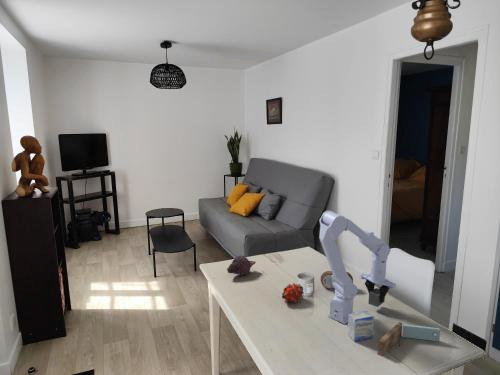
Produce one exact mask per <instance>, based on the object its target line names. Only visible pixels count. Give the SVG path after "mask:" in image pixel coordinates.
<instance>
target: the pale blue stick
mask: <svg viewBox="0 0 500 375" xmlns="http://www.w3.org/2000/svg"><path fill="white" fill-rule="evenodd" d="M440 337H441V328H439V327H432V326H431V327H429V326H422V325H413V324H404V323H402V338H407V339H416V340H417V339H418V340H425V341H433V342H440V339H441V338H440Z"/></svg>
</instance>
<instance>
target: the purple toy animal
mask: <svg viewBox="0 0 500 375" xmlns="http://www.w3.org/2000/svg"><path fill="white" fill-rule="evenodd" d="M255 264H256V261H253V260H249V259H248V258H247V256H245V255H238V256H236V257H234V259H233V260H232V261H231V263H230V264H229V265H228V267H227V268H226V272H227V273H228V274H233V275H240V276H245V275H248V274H249V273H250V271H251V268H252V267H253V266H254V265H255Z"/></svg>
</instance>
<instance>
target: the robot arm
mask: <svg viewBox="0 0 500 375" xmlns="http://www.w3.org/2000/svg"><path fill="white" fill-rule="evenodd" d="M319 225H320V227H319V236H318V237H319V241H320V244H321V247H322V250H323V252H324V254H325V257H326V260H327V262H328V265H329V267H330V271H332V273H333V275H332V276H331V277H332V286H333V288H335V289H334V296H333V299H332V300H330V303H329V314H327V317H328V318H331V319H333V320H335V321H337V322H339V323H342V324H348V314H353V313H355V312H354V299H355V297H356V296H357V293H358V287H357V285H356V284H355V283H354V281H353V282H352V280H351V278H350V277H349V276H348V274H347V272H348V271H347V270H346V267H345V264H344V262H343V258H342V256H341V253H340V251H339V248H338V246H337V243H336V240H337V239H338V237H340V235H341V234H342V233H343V232H344V231H345V232H346V231H347V232H348V231H349V232H350V233H352V234H353V235H354V236H356V237H358V242H359V243H360V244H362V245H363V246H364V247H365V248H367V249H368V250H369V251H370V252H371V263H370V266H371V267H370V274H368V273H364V272H362V273H361V274H360V279H361V280H365V282H364V286H365V287H366V289H367V292H368V294H369V292H371V291H372V290H374V289H375V288H376V286H375V285H381V286H379V288H378V289H379V290H380V302H381V303H382V302H383V301H384V298H386V296H387V293H388V292H389V291H390V290H393V291H394V290H396V289H397V283H394V282H392V281H391V280H389V279H387V278H386V274H387V273H386V271H387V269H386V268H387V260H388V257H389V255H390V253H391V251H392V250H391V249H390V246H389V244H388V243H386V242H384V241H382V238H381V237H377V236H376V235H374V234H375V233H374V232H373V231H371V230H370V231H369V230H363V229H362V228H360V227H359V226H358V225H357V224H356V223H354V221H352V220H351V219H349V218H347V217H345V216H344V215H340V214H338V213H336V212H334V211H332V210H326V211H324V212H323V213H322V215H321V217H320V218H319ZM384 302H385V301H384ZM382 304H383V303H382Z"/></svg>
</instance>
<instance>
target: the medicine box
mask: <svg viewBox="0 0 500 375" xmlns="http://www.w3.org/2000/svg"><path fill="white" fill-rule="evenodd" d="M374 317H375V316H373V314H371V313H370V312H369V311H368V310H365V311H359V312H354V313H353V314H348V322H347V335H348V336H349V337H350V339H352V341H353V342H359V341H363V340H367V339H372V338H374V319H375V318H374Z"/></svg>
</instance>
